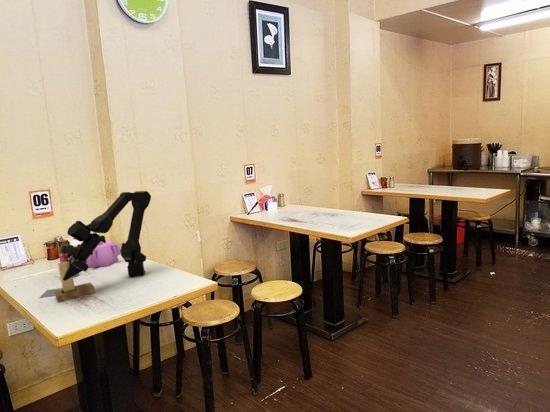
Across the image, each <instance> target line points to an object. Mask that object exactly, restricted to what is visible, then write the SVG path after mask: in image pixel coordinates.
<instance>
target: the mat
mask: <svg viewBox="0 0 550 412" xmlns="http://www.w3.org/2000/svg"><path fill="white" fill-rule="evenodd" d="M61 289H62V287H59V288H53V289H47V290H46V291H44V293H42V294H41V295H40V296H39V297H38V299H45V298H51V297H56V294H55V291H57V290H61Z"/></svg>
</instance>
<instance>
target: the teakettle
mask: <svg viewBox="0 0 550 412" xmlns="http://www.w3.org/2000/svg"><path fill="white" fill-rule="evenodd" d="M120 250H121V247H120V243H115V242H114V240H113V241H111V240H110V241H106V243H103V242H102V241H101V242H100V243H99V244H98V246H97V247H96V248H95V250H94V251H93V255H90V256H89V258H88V259H87V260H86V261H87V264H88V269H93V268H94V269H95V268H96V269H97V268H102V267H103V268H104V267H109V266H112V265H113V264H114V263H116V262H117V261H118V259H119V258H118V257H119V256H121V252H120Z"/></svg>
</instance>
